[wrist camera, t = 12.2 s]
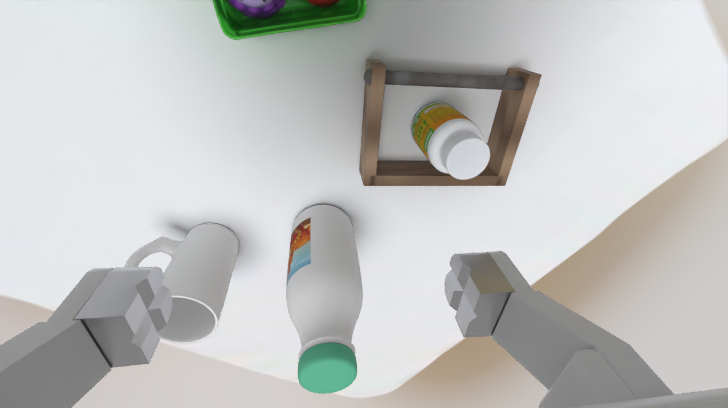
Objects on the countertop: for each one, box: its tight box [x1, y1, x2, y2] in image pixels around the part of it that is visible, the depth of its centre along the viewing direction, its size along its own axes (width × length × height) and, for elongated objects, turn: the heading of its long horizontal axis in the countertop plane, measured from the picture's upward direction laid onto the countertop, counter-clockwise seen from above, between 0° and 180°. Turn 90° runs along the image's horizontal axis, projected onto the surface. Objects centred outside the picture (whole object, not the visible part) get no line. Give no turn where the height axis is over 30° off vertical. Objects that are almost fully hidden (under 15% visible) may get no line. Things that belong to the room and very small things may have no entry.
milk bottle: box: [286, 205, 362, 393], centre depth 33 cm, size 8×8×20 cm
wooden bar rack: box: [359, 59, 541, 186], centre depth 34 cm, size 12×18×4 cm
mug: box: [124, 223, 239, 344], centre depth 35 cm, size 10×7×12 cm, turn 52°
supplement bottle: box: [411, 102, 490, 180], centre depth 32 cm, size 5×5×10 cm
